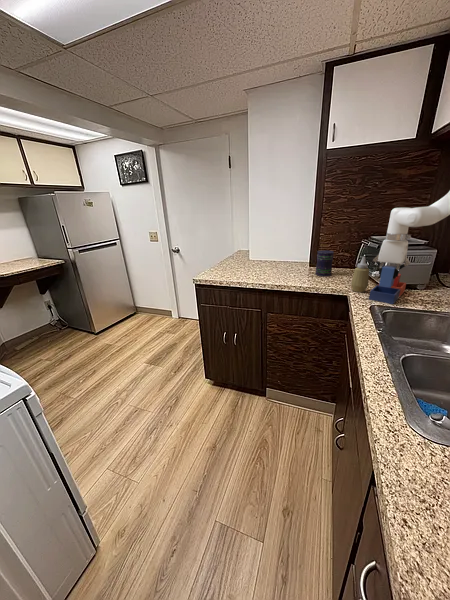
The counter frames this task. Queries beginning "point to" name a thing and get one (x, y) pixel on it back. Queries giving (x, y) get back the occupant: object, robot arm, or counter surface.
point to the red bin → (400, 287)
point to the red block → (397, 281)
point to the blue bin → (384, 294)
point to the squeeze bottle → (360, 277)
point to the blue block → (387, 276)
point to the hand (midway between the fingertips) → (387, 276)
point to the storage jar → (324, 263)
